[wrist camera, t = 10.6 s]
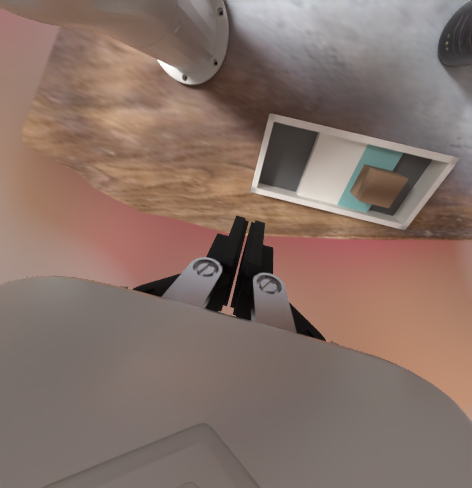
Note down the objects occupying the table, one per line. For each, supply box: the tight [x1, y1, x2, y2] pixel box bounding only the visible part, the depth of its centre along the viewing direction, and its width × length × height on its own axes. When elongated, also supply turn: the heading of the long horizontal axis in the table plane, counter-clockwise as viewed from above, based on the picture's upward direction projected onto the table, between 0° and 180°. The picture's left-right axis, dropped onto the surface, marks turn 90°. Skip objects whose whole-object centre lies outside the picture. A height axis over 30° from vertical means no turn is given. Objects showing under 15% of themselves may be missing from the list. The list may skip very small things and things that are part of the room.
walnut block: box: [350, 164, 408, 208], centre depth 34 cm, size 5×5×5 cm
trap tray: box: [250, 113, 460, 230], centre depth 37 cm, size 13×30×4 cm, turn 79°
